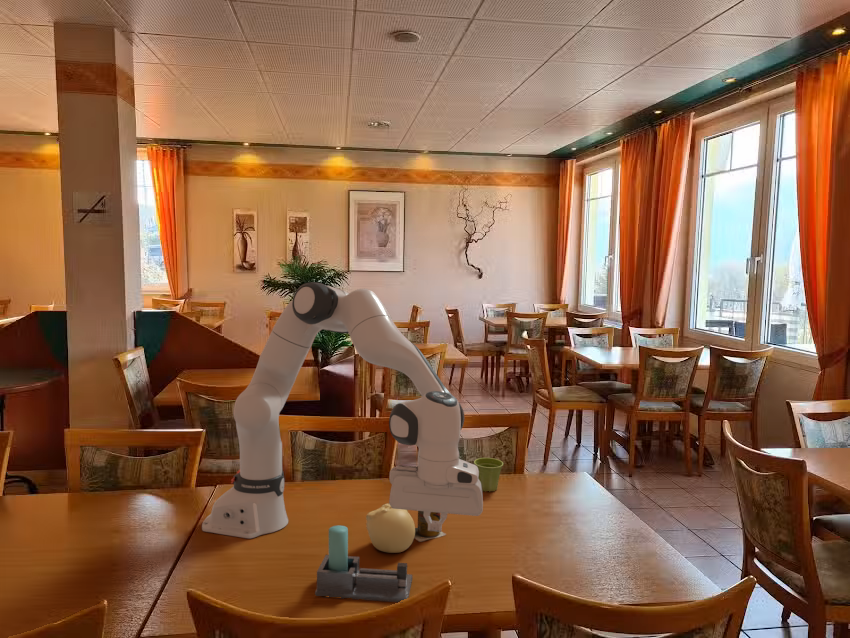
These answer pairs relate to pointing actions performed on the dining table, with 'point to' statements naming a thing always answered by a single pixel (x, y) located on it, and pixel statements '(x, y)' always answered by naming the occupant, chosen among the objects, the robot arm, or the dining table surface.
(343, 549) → the peg
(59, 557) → the dining table surface
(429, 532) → the condiment
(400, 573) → the pin
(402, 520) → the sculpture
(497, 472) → the plant pot
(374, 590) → the mount
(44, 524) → the dining table surface
